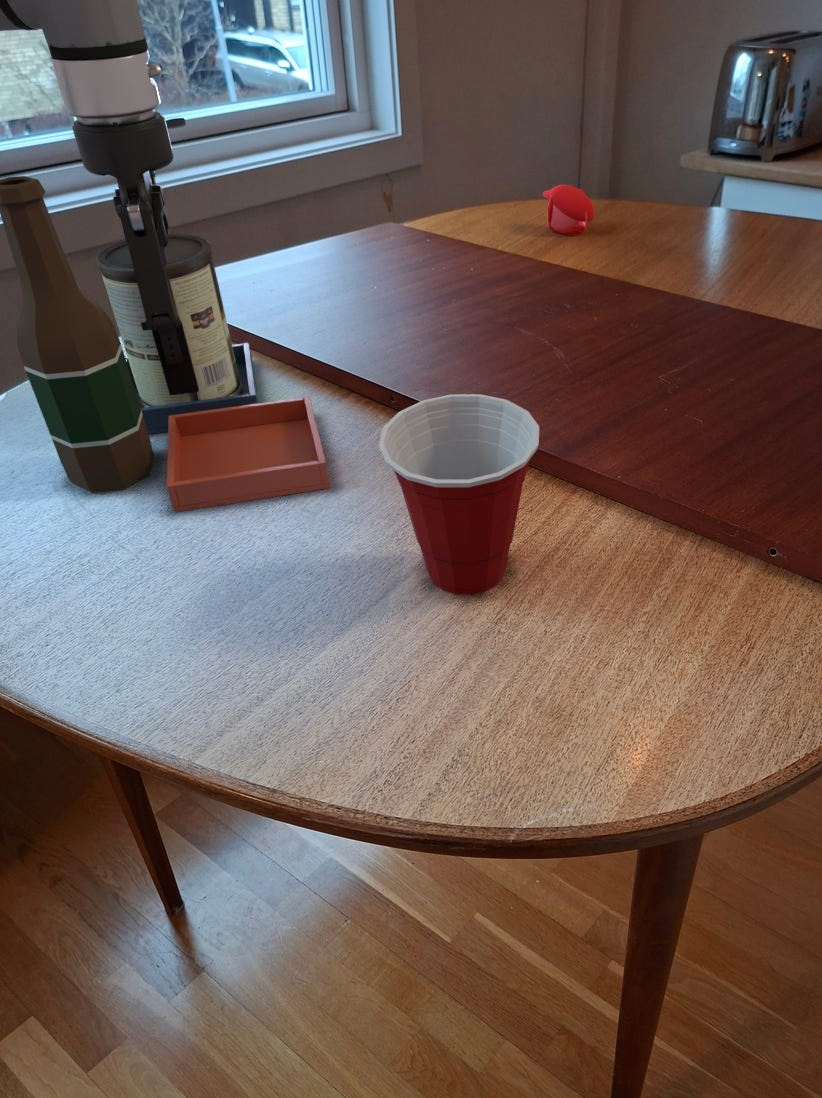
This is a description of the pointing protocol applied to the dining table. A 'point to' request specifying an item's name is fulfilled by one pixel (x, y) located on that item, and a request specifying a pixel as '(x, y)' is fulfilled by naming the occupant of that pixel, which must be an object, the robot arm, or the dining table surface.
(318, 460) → the terracotta tray
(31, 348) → the beer bottle
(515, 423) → the plastic cup
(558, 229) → the cap
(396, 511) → the dining table surface
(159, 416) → the slate tray
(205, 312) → the coffee can
